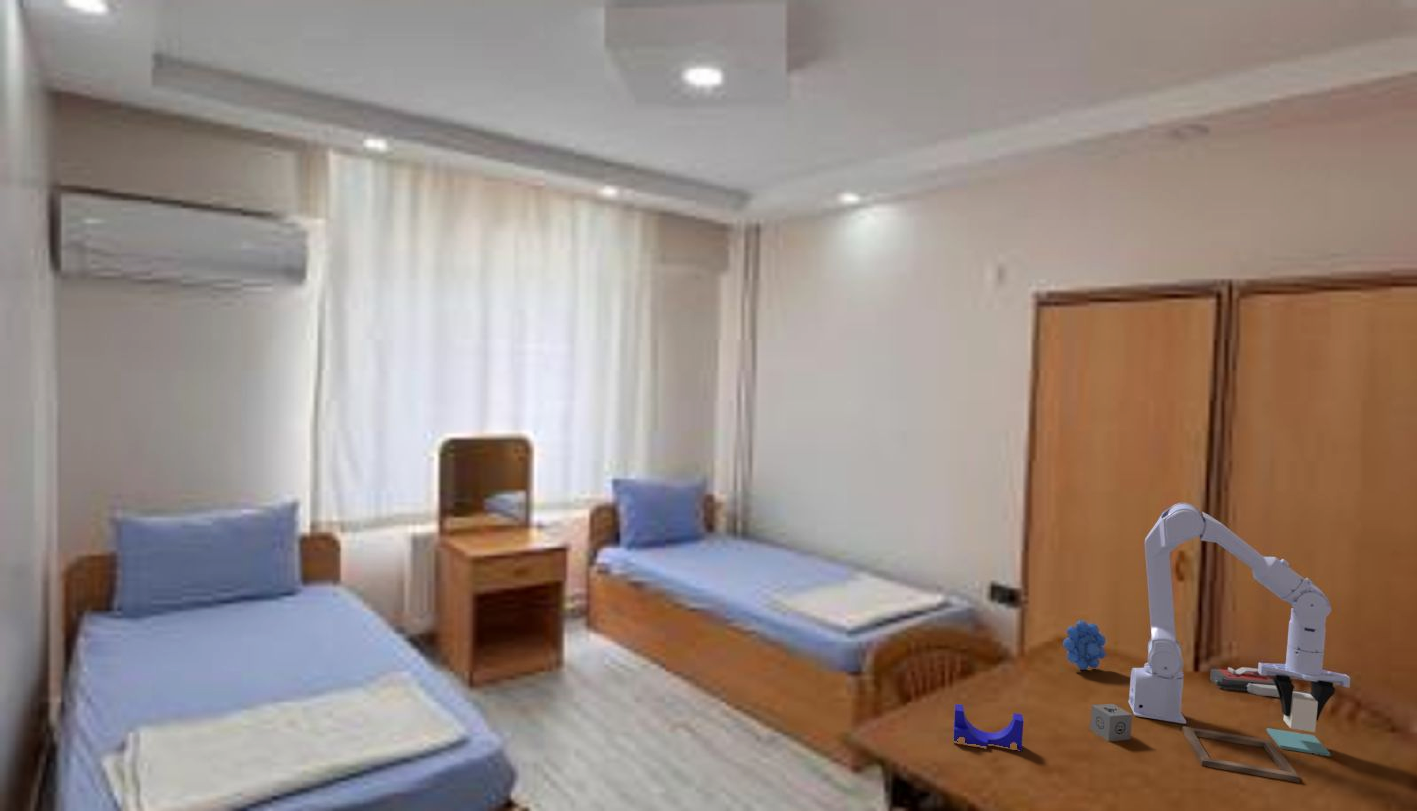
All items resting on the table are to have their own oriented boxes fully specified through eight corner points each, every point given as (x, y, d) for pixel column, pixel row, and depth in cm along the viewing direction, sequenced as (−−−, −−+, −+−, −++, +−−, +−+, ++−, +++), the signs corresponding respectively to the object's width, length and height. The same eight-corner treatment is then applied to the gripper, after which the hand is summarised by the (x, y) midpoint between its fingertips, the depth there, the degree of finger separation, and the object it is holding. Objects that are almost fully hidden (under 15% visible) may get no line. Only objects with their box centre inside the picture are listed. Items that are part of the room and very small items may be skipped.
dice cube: (1090, 729, 159) (1091, 705, 159) (1111, 728, 161) (1113, 703, 160) (1108, 741, 155) (1110, 716, 154) (1130, 739, 156) (1132, 714, 156)
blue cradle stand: (953, 744, 151) (955, 713, 150) (953, 734, 155) (955, 703, 155) (1022, 756, 147) (1024, 724, 147) (1019, 745, 151) (1022, 714, 151)
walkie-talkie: (1221, 694, 182) (1317, 702, 179) (1223, 675, 181) (1319, 683, 179) (1202, 678, 190) (1294, 686, 188) (1204, 660, 190) (1295, 668, 188)
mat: (1280, 748, 155) (1280, 745, 155) (1266, 730, 162) (1266, 727, 162) (1330, 756, 152) (1330, 753, 152) (1313, 738, 160) (1313, 735, 160)
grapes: (1074, 678, 186) (1078, 627, 186) (1055, 667, 193) (1058, 617, 192) (1116, 675, 189) (1120, 625, 189) (1096, 664, 196) (1100, 616, 195)
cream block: (1290, 728, 156) (1293, 697, 155) (1283, 719, 160) (1285, 690, 159) (1315, 732, 154) (1317, 701, 154) (1307, 723, 158) (1309, 693, 158)
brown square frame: (1201, 765, 146) (1202, 760, 146) (1182, 730, 160) (1182, 726, 160) (1299, 782, 142) (1299, 777, 141) (1270, 745, 156) (1270, 740, 156)
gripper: (1268, 648, 155) (1263, 717, 156) (1359, 660, 150) (1353, 731, 151) (1256, 637, 161) (1251, 703, 162) (1343, 648, 157) (1337, 716, 158)
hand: (1299, 716), depth 157 cm, fingers closed on cream block, 4 cm apart
